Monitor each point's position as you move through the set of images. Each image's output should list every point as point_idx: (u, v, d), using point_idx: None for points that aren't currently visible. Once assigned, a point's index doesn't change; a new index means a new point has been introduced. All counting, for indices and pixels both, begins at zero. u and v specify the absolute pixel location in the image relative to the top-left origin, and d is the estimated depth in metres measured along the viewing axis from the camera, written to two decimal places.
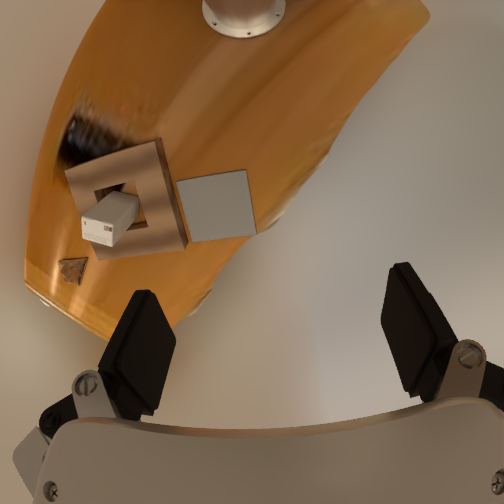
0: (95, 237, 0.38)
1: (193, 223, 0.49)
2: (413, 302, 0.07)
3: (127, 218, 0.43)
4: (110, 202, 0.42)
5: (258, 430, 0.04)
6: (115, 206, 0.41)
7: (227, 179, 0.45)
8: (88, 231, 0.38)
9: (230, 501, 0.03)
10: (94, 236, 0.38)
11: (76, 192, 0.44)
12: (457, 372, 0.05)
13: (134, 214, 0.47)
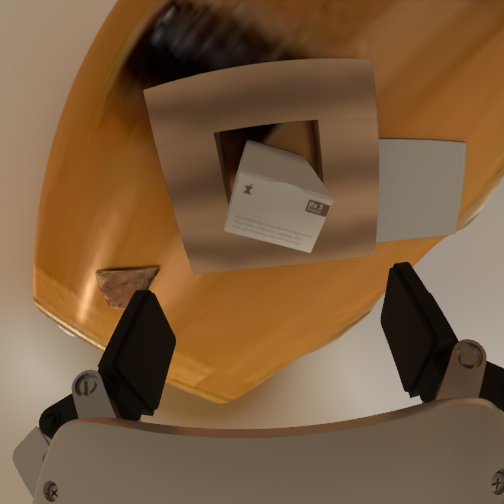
0: (270, 229, 0.17)
1: (387, 212, 0.28)
2: (413, 302, 0.07)
3: None
4: (269, 154, 0.21)
5: (258, 430, 0.04)
6: (290, 163, 0.20)
7: (446, 151, 0.23)
8: (252, 214, 0.16)
9: (230, 501, 0.03)
10: (267, 226, 0.17)
11: (166, 135, 0.22)
12: (457, 372, 0.05)
13: None
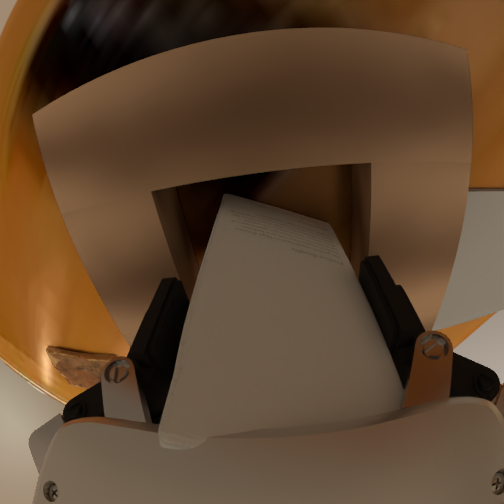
0: None
1: None
2: (379, 293, 0.08)
3: None
4: (266, 253, 0.10)
5: (258, 430, 0.04)
6: (313, 282, 0.09)
7: None
8: None
9: (230, 501, 0.03)
10: None
11: (73, 196, 0.11)
12: (423, 365, 0.06)
13: None
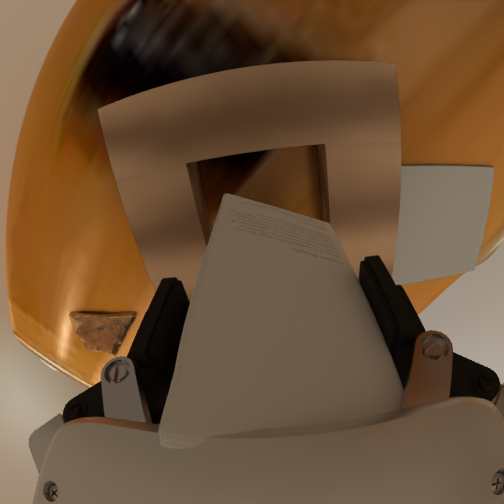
0: None
1: (402, 253, 0.23)
2: (379, 293, 0.08)
3: None
4: (266, 253, 0.10)
5: (258, 430, 0.04)
6: (313, 282, 0.09)
7: (472, 178, 0.19)
8: None
9: (230, 501, 0.03)
10: None
11: (127, 167, 0.17)
12: (423, 365, 0.06)
13: None
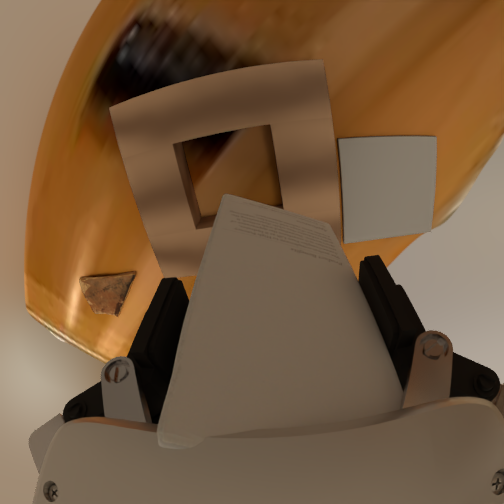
0: None
1: (353, 212, 0.29)
2: (379, 293, 0.08)
3: None
4: (265, 253, 0.10)
5: (258, 430, 0.04)
6: (312, 283, 0.09)
7: (413, 146, 0.24)
8: None
9: (230, 501, 0.03)
10: None
11: (131, 148, 0.23)
12: (423, 365, 0.06)
13: None
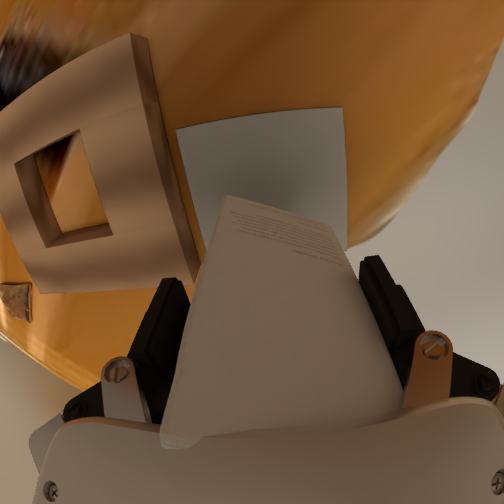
0: None
1: (213, 226, 0.22)
2: (379, 293, 0.08)
3: None
4: (267, 254, 0.10)
5: (258, 430, 0.04)
6: (314, 284, 0.09)
7: (299, 125, 0.18)
8: None
9: (230, 501, 0.03)
10: None
11: None
12: (423, 365, 0.06)
13: None
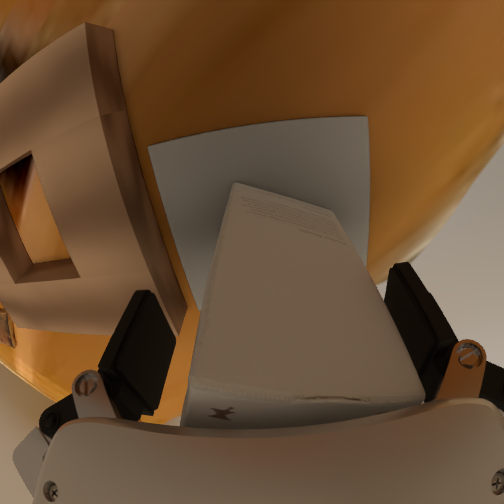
0: None
1: (199, 267, 0.18)
2: (413, 302, 0.07)
3: None
4: (276, 232, 0.10)
5: (258, 430, 0.04)
6: (320, 257, 0.10)
7: (311, 140, 0.13)
8: None
9: (230, 501, 0.03)
10: None
11: None
12: (457, 372, 0.05)
13: None
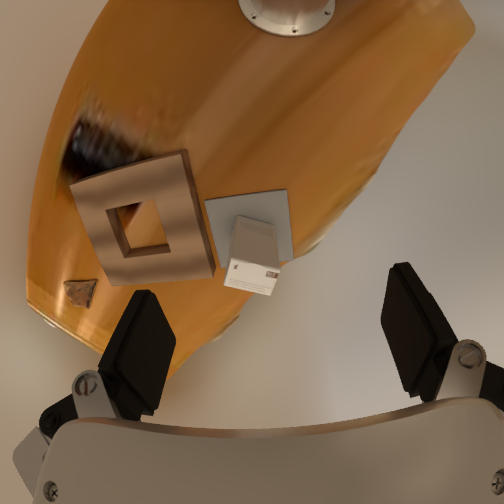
0: (247, 284, 0.32)
1: (223, 247, 0.44)
2: (413, 302, 0.07)
3: None
4: (250, 233, 0.37)
5: (258, 430, 0.04)
6: (261, 240, 0.36)
7: (265, 200, 0.40)
8: (238, 278, 0.32)
9: (230, 501, 0.03)
10: (246, 283, 0.32)
11: (84, 210, 0.39)
12: (457, 372, 0.05)
13: None
